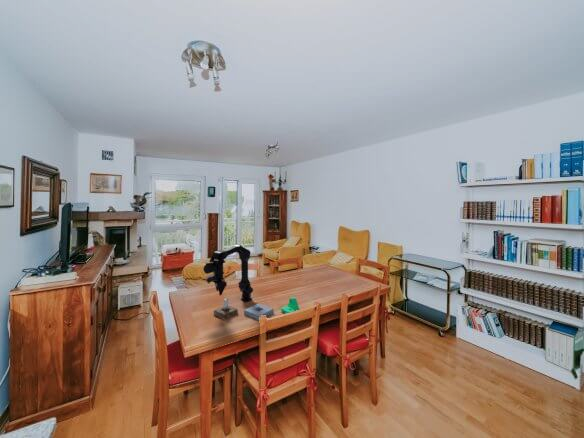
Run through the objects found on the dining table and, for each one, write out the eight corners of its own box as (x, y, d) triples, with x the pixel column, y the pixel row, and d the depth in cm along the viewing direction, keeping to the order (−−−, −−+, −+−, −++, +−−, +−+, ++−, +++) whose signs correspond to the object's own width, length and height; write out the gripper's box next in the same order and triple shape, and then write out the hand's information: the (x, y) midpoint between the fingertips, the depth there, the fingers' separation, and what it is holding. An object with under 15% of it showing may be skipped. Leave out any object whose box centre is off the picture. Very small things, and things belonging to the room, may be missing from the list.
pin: (226, 312, 170) (226, 298, 169) (229, 313, 168) (229, 299, 167) (222, 314, 167) (222, 299, 166) (225, 315, 165) (225, 300, 164)
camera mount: (280, 311, 173) (280, 297, 173) (288, 308, 178) (289, 294, 178) (291, 317, 164) (291, 302, 164) (300, 314, 169) (300, 299, 169)
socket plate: (258, 307, 179) (258, 303, 179) (273, 312, 171) (273, 308, 170) (243, 314, 167) (244, 310, 167) (259, 320, 159) (259, 315, 159)
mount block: (226, 309, 175) (226, 304, 175) (237, 313, 169) (237, 309, 168) (213, 314, 166) (213, 310, 166) (224, 319, 160) (224, 314, 160)
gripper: (203, 268, 171) (204, 290, 172) (208, 275, 155) (209, 300, 156) (220, 266, 177) (220, 287, 178) (226, 273, 160) (226, 297, 161)
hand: (218, 292), depth 168 cm, fingers open, 9 cm apart
